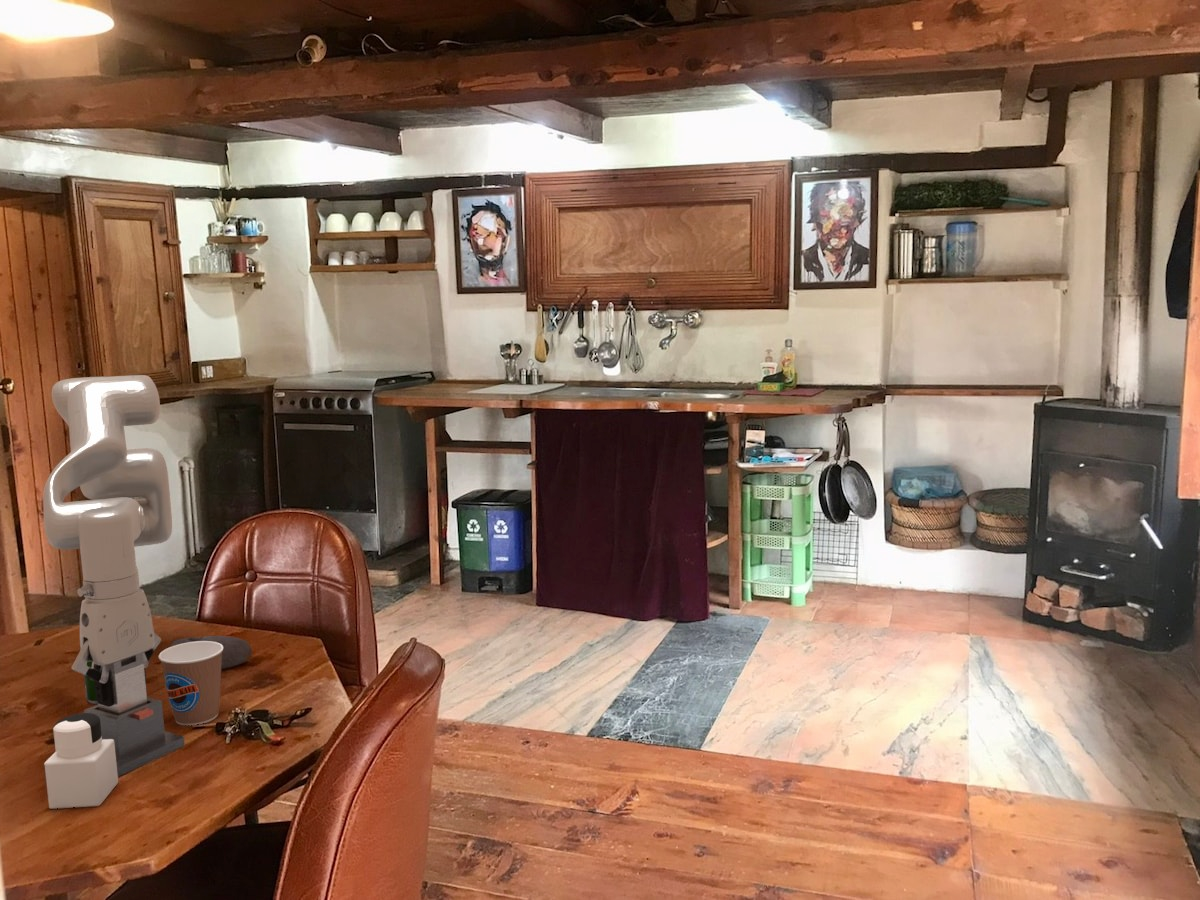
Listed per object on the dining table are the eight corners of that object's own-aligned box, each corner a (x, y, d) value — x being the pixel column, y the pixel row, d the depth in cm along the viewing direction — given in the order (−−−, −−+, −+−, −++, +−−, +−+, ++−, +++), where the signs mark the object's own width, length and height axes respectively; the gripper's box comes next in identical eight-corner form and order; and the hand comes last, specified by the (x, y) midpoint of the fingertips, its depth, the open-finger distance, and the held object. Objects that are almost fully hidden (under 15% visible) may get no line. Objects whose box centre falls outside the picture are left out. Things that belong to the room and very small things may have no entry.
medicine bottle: (69, 785, 150) (61, 709, 149) (119, 782, 151) (111, 706, 149) (48, 810, 143) (39, 730, 142) (100, 806, 144) (91, 727, 142)
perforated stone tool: (252, 659, 202) (249, 626, 200) (253, 668, 197) (251, 634, 196) (170, 671, 196) (167, 637, 195) (170, 681, 191) (167, 646, 190)
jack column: (101, 746, 160) (92, 655, 157) (131, 734, 164) (122, 645, 162) (122, 753, 157) (113, 660, 155) (151, 740, 162) (143, 650, 159)
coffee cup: (151, 725, 171) (144, 658, 169) (194, 702, 181) (188, 638, 179) (199, 733, 168) (193, 664, 166) (241, 709, 177) (236, 644, 175)
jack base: (69, 760, 159) (64, 712, 158) (137, 731, 169) (132, 685, 168) (117, 777, 153) (112, 727, 152) (184, 745, 163) (180, 698, 162)
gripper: (74, 605, 148) (86, 723, 150) (174, 576, 162) (184, 683, 165) (43, 598, 151) (56, 713, 154) (144, 570, 166) (154, 675, 169)
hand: (122, 696), depth 159 cm, fingers closed on jack column, 5 cm apart
